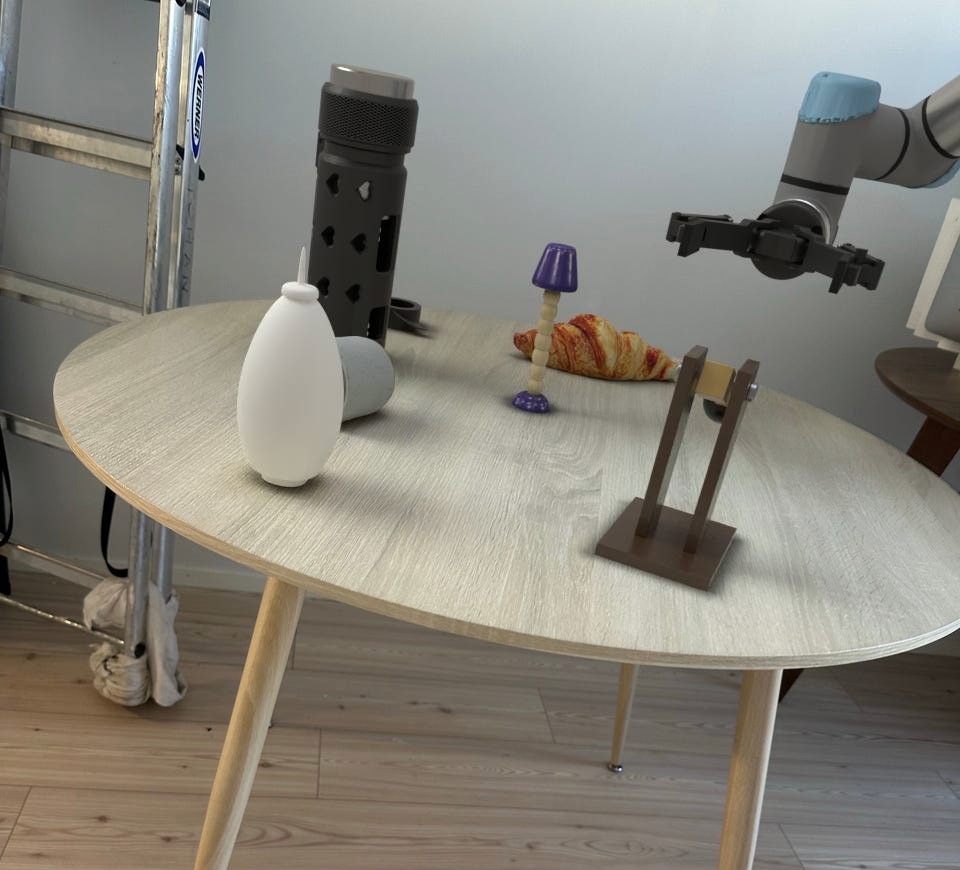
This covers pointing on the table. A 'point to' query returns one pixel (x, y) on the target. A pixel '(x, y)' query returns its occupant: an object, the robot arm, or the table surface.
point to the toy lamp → (547, 318)
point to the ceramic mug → (364, 376)
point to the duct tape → (404, 315)
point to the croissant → (600, 351)
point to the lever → (715, 388)
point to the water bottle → (360, 196)
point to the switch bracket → (647, 522)
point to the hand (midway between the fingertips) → (759, 258)
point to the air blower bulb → (291, 388)
